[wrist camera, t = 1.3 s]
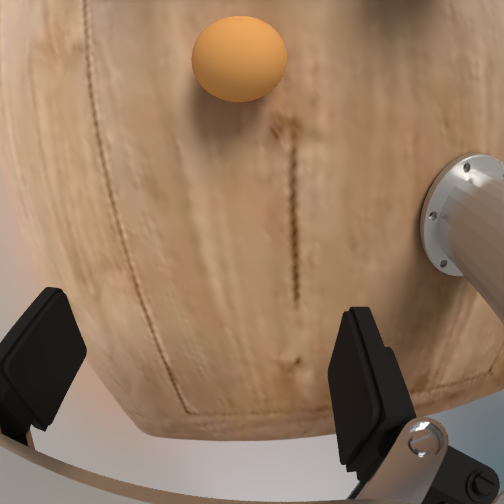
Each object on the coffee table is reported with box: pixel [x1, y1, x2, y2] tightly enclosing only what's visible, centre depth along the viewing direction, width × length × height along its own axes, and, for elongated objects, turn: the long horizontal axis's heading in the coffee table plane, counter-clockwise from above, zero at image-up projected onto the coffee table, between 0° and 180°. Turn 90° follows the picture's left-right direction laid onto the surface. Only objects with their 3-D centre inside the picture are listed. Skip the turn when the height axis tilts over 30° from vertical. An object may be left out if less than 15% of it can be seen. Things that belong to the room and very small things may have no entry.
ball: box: [192, 16, 287, 102], centre depth 17 cm, size 6×6×6 cm
